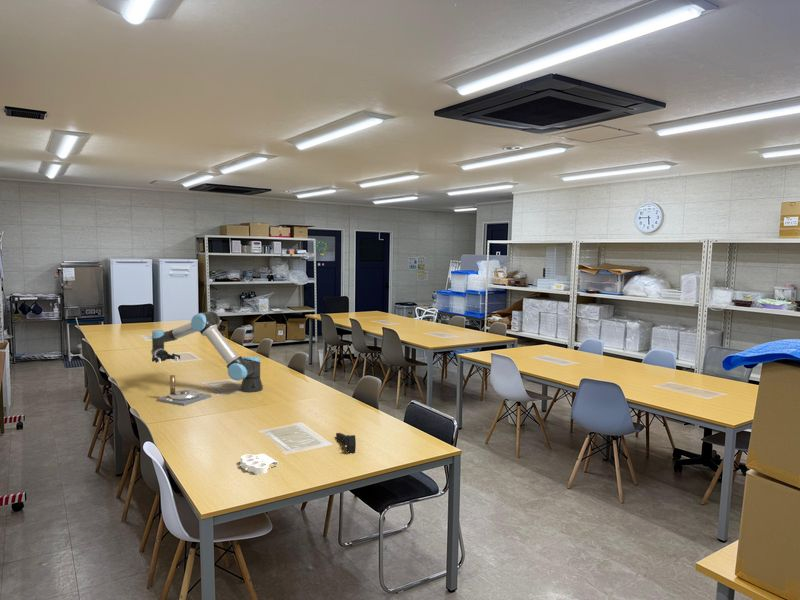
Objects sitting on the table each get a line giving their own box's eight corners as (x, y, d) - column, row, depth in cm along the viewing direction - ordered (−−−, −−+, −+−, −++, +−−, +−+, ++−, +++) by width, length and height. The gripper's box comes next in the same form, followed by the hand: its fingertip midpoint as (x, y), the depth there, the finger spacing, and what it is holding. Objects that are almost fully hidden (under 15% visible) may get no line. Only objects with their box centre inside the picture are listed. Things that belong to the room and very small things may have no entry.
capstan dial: (201, 397, 339) (201, 376, 338) (171, 401, 330) (171, 379, 328) (196, 391, 354) (196, 370, 353) (167, 394, 345) (167, 373, 344)
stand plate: (211, 397, 348) (211, 393, 348) (184, 405, 327) (184, 402, 327) (185, 392, 357) (185, 389, 357) (157, 401, 336) (156, 397, 336)
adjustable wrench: (341, 446, 276) (356, 453, 253) (336, 447, 275) (350, 454, 252) (340, 430, 277) (355, 435, 254) (335, 430, 276) (349, 436, 253)
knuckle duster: (281, 469, 235) (251, 478, 225) (262, 457, 248) (232, 465, 239) (281, 461, 235) (251, 470, 225) (262, 450, 248) (232, 457, 238)
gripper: (178, 358, 370) (187, 364, 352) (143, 361, 356) (150, 368, 339) (178, 348, 369) (187, 353, 351) (143, 350, 356) (150, 356, 338)
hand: (169, 360), depth 345 cm, fingers open, 10 cm apart
